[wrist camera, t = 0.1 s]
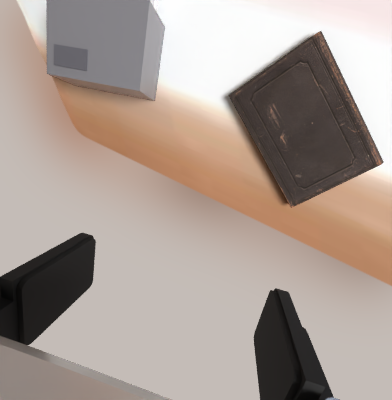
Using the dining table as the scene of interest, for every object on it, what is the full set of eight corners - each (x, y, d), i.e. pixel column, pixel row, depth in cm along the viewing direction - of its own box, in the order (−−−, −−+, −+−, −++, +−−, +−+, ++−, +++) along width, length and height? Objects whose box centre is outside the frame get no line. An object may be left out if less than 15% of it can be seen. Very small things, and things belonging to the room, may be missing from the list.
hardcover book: (288, 204, 39) (291, 207, 37) (229, 98, 36) (228, 95, 34) (376, 161, 35) (386, 162, 32) (316, 36, 32) (323, 28, 30)
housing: (78, 14, 37) (45, -14, 31) (164, 27, 35) (149, -1, 28) (76, 85, 40) (45, 73, 34) (155, 100, 38) (139, 90, 32)
